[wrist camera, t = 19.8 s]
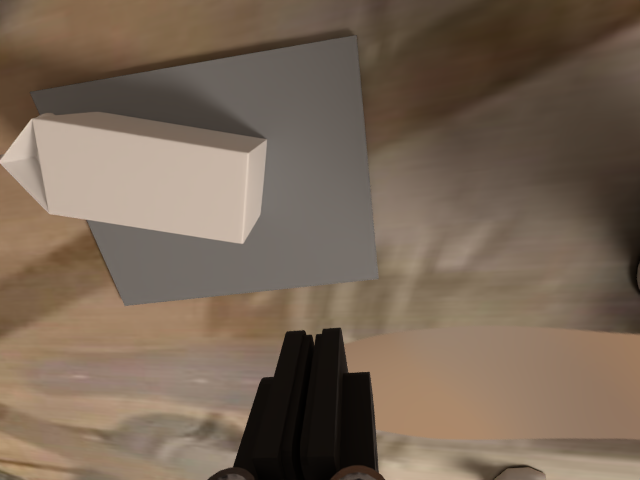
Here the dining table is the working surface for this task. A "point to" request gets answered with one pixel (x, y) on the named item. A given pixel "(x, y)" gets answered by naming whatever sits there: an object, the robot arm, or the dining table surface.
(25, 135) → the milk carton
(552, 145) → the dining table surface
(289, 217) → the mat
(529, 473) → the flask
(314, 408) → the robot arm
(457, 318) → the dining table surface
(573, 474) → the dining table surface
